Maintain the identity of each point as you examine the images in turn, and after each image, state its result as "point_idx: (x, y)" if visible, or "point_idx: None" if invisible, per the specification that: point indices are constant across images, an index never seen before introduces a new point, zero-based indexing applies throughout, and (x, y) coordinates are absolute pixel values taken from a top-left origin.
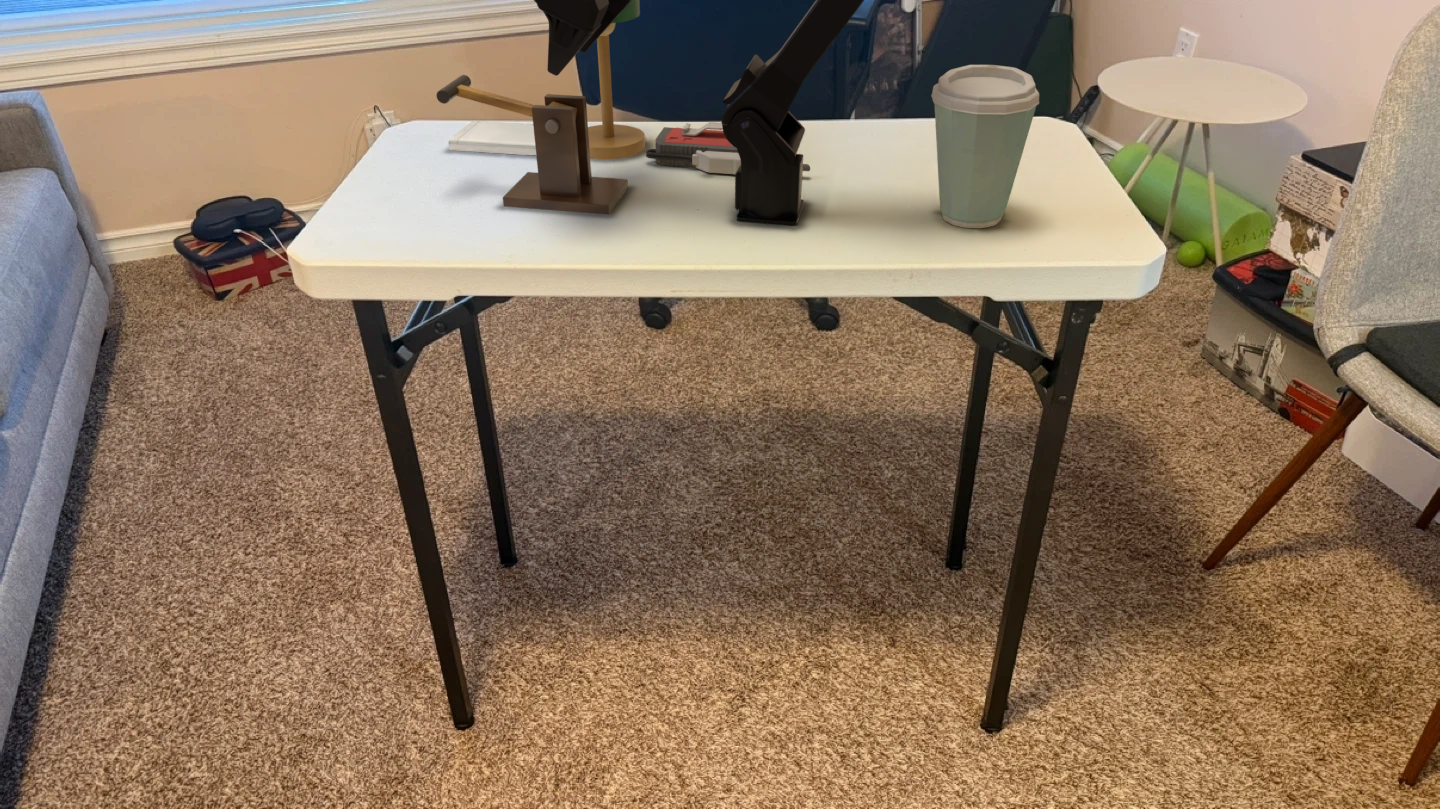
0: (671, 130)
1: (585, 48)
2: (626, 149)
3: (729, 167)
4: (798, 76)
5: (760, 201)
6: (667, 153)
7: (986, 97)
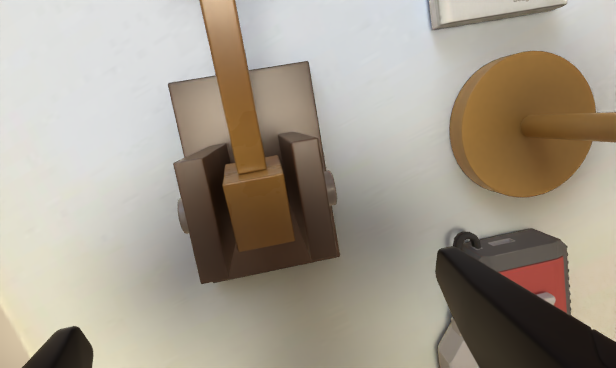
0: (540, 264)
1: (444, 288)
2: (482, 183)
3: None
4: None
5: None
6: None
7: None
